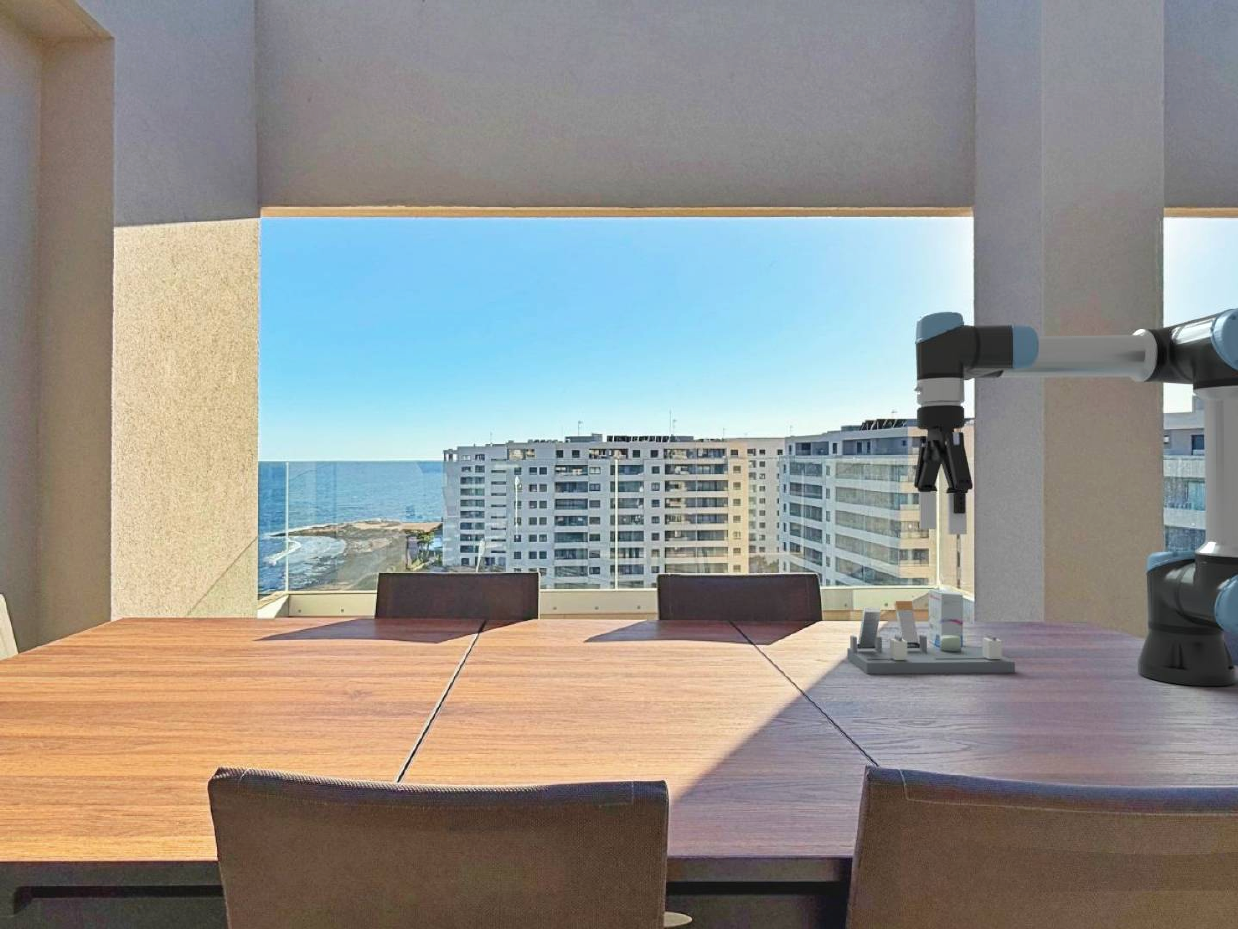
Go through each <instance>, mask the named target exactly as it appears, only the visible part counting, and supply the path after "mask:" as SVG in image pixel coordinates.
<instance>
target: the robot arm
mask: <svg viewBox="0 0 1238 929" xmlns="http://www.w3.org/2000/svg"><path fill="white" fill-rule="evenodd" d="M914 345H915V358H916V359H915V360H916V364H915V366H916V385H915V386H914V387H913V391H914V392H915V393H916V403H917V405H920V407H918V408H917V409H916V427H917V428H918V429H919V430H924V431H925V430H927V434H926V435H920V436H919V450H918V456H917V462H916V470H915V474H914V475H915V476H914V477H915V478H914V484H913V487H914V488H915V489H917V492H918V502H919V503H918V504H919V510H918V511H919V530H937V492H938V488H937V486H936V482H937V480H938V476H939V472H940V468H942V470H943V473H944V477H945V479H946V483H947V485H948V487H947V489H946V491H945V493H946V494H947V534H948V535H967V534H968V533H967V532H968V530H967V528H968V527H967V526H968V524H967V523H968V521H967V513H968V512H967V494H968V492H969V490H973V488H974V486H973V485H974V484H973V480H972V476H971V472H970V471H971V470H970V466H969V461H968V456H967V452H966V446H965V435H964V432H961V431H959V432H958V431H955V430H957V429H958V430H959V429H963V428H964V427H965V408H964V406H963V405H961V404H963V403H964V402H965V398H966V397H965V381H970V380H972V379H996V378H999V379H1001V378H1002V379H1004V378H1005V379H1006V378H1009V379H1010V378H1094V377H1095V378H1100V377H1101V378H1102V377H1103V378H1105V377H1106V378H1110V377H1111V378H1113V377H1115V378H1118V377H1120V378H1121V377H1123V378H1124V377H1125V378H1126V377H1129V378H1130V379H1131V380H1132V381H1134V382H1136V383H1164V384H1165V383H1166V384H1178V385H1179V384H1180V385H1192V392H1193V394H1194V395H1195V396H1197V398H1199V399H1200V400H1202V403H1203V428H1204V429H1203V434H1204V435H1203V436H1204V437H1203V438H1204V440H1203V441H1204V443H1203V444H1204V449H1203V450H1204V501H1205V503H1204V508H1205V509H1204V510H1205V512H1204V513H1205V515H1204V516H1205V519H1204V520H1205V541H1204V543H1203V544H1202V545H1201V546H1199V547H1198V548H1197V549H1196V550H1177V551H1158V552H1153V553H1151V554H1150V555H1149V556H1148V558H1147V560H1146V562H1147V563H1146V571H1145V575H1146V586H1147V587H1146V590H1147V592H1146V593H1147V596H1146V597H1147V598H1146V599H1147V633H1146V638H1145V639H1144V643H1143V645H1142V648H1141V651H1140V654H1139V657H1138V659H1137V673H1138V674H1139V675H1141V676H1143V677H1145V678H1148V679H1152V680H1154V681H1160V682H1165V683H1171V684H1179V685H1186V686H1187V685H1188V686H1199V687H1221V686H1222V687H1223V686H1224V687H1225V686H1232V685H1234V684H1236V683H1237V670H1236V669H1237V668H1236V667H1235V664H1234V663H1235V662H1234V661H1233V658H1232V656H1231V652H1230V651H1229V648H1228V646H1227V643H1226V640H1225V636H1224V631H1225V632H1227V633H1229V634H1232V635H1235V636H1238V307H1237V308H1228V309H1225V310H1223V311H1220V312H1217V313H1214V314H1210V315H1207V316H1204V317H1199V318H1196V319H1192V320H1188V321H1185V322H1181V323H1177V324H1174V325H1173V324H1172V325H1170V326H1165V327H1160V328H1159V327H1158V328H1152V329H1151V328H1147V329H1146V328H1145V329H1144V328H1143V329H1138V330H1136V331H1134V332H1133V333H1132V334H1131V335H1129V334H1126V335H1125V334H1122V335H1121V334H1119V335H1118V334H1115V335H1113V334H1112V335H1110V334H1109V335H1107V334H1106V335H1049V336H1048V335H1046V336H1045V335H1044V336H1043V335H1042V336H1040V335H1039V336H1038V333H1037V331H1036V329H1034V328H1033V327H1032V326H1031V325H1022V324H1020V325H1019V324H1015V323H1014V324H1013V323H1012V324H1006V325H1005V324H1001V325H1000V324H997V325H996V324H994V325H969V324H965V321H964V316H963V314H961V313H959V312H957V311H956V312H953V311H938V312H932V313H926V314H923V315H922V316H919V318H918V319H917V321H916V328H915V343H914Z"/></svg>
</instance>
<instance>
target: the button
mask: <svg viewBox="0 0 1238 929" xmlns="http://www.w3.org/2000/svg"><path fill="white" fill-rule="evenodd" d="M939 648H940V649H941V650H944V651H961V637H959V636H953V635H942V636H940V647H939Z"/></svg>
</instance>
